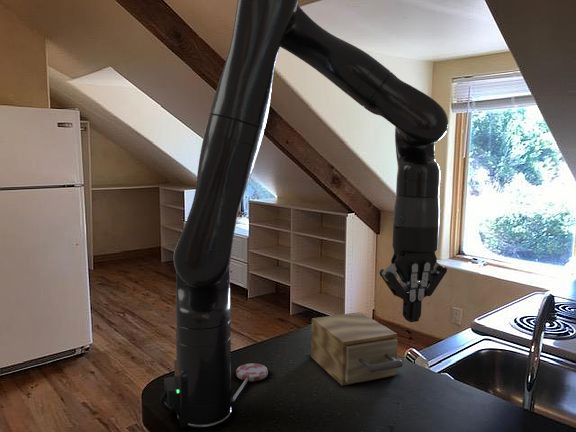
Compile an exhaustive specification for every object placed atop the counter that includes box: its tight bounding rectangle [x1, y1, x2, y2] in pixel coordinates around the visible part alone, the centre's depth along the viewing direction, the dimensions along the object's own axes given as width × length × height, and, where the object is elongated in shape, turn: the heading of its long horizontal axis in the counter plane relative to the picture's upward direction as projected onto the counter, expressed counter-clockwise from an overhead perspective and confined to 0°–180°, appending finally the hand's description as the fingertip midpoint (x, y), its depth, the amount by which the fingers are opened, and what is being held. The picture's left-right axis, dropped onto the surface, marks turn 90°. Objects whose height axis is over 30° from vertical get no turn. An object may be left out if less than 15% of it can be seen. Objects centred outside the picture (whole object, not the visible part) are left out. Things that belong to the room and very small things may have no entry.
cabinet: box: [310, 311, 398, 386], centre depth 103 cm, size 15×13×9 cm
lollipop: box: [231, 362, 269, 402], centre depth 95 cm, size 7×1×15 cm
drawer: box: [345, 338, 404, 384], centre depth 99 cm, size 18×11×7 cm, turn 22°
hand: (411, 320), depth 83 cm, fingers closed
